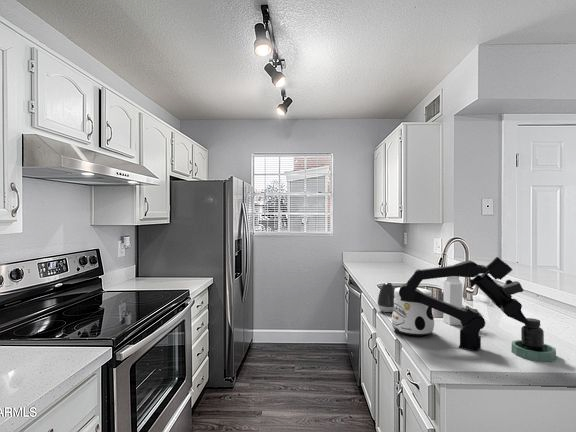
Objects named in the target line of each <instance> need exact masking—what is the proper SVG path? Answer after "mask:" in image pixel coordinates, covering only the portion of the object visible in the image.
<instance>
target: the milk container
mask: <svg viewBox="0 0 576 432" xmlns="http://www.w3.org/2000/svg"><path fill="white" fill-rule="evenodd" d="M400 287H401V286H400ZM400 287H399V286H398V287H396V288H395V287H394V289H395V290H394V311H393V312H392V314H391V324H392V328H393V329H394V330H395V331H397V332H398V333H401V334H404V335H408V336H421V337H422V336H427V335H430V334H431V333H433V331H434V329H435V320H434V315H433V308H431V307H429V306H426V305H424V304H421V303H415V302H410V301H406V300H403V299H402V298H401V297H400V295H399V290H400ZM417 289H419V290H420V291H421V292H423V293H424V294H427V295H429V296H432V297H433V292H432V290H429V289H427V288H421V287H417Z"/></svg>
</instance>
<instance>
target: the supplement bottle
mask: <svg viewBox="0 0 576 432" xmlns="http://www.w3.org/2000/svg"><path fill="white" fill-rule="evenodd" d="M526 319H527V320H528V322H529V324H528V325H526V324H524V325H523V326H522V327H521V329H520V330H521V332H520V335H521V336H520V337H521V338H520V340H521V345H522V348H524V349H527V350H532V351H538V352H544V344H545V331H544V330H543V328H542V327H541V320H540V319H537V318H530V317H526Z"/></svg>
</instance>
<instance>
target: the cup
mask: <svg viewBox="0 0 576 432" xmlns="http://www.w3.org/2000/svg"><path fill="white" fill-rule="evenodd" d="M511 353H513V354H514V355H515V356H518V357H520V358H523V359H526V360H531V361H536V362H546V363H548V362H549V363H551V362H556V361H557V348H555V347H553V346H552V345H551V344H547V343H544V352H538V351H532V350H527V349H524V348H522V345H521V339H517V340H512V341H511Z"/></svg>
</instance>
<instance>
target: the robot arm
mask: <svg viewBox="0 0 576 432" xmlns="http://www.w3.org/2000/svg"><path fill="white" fill-rule="evenodd" d="M512 271H513V268H511V266H510V265H509V264H508V263H507V262H504V260H502V259H501V258H500V257H499V256H496V257H494V258H493V260H492V261H490V263H488V264H487V265H484V264H477V263H476V262H475V261H473V260H464V261H462V262H458V263H456V264H452V265H449V266H440V267H431V268H423V269H420V268H419V269H415V271H414V273H413V274H412V276H411V277H410V278H409V279H408V280H407V281H406V282H405V283H403V284H401V285H400V290H399V295H400V297H401V298H402V299H403V300H406V301H410V302H415V303H421V304H424V305H426V306H429V307H431V308H432V310H433V309H434V310H437V311H439V312H441V313H445V314H448V315H450V316H453V317H455V318H457V319H459V320H460V321H461V322H460V324H461V325H460V326H461V328H460V330H459V345H458V348H459V349H464V350H469V351H474V352H478V351H480V349H481V347H482V336H481V335H480V332H481V330H482V329H484V327H486V320H485V318H484V316H483V315H482V313H480V312H479V310H478V309H476V308H472V307H470V306H469V305H465V308H463V307H462V308H459V307H456V306H454V305H451V304H449V303H446V302H444V300H441V299H438V298H436V297H434V296H433V295H432V296H429V295H427V294H424V293H423V292H421V291H420V290H419V289H417V288H419V285H420V284H421V283H422V281H424V280H431V279H440V278H441V279H442V278H447V277H450V276H458V277H459V278H460V277H461V278H469V279H468V280H469V283H468V285H469V287H470V288H473V287H474V286H477V287H478V289H479V290H480V291H482V292H483V293H484V294H485V296H487V297H488V298H489V300H491V302H492V303H493V305H495V306H496V307H497V308H498V309H500V311H501V312H502V313H503V314H504V315H505V316H506V317H509V318H511V319H512V320H515V321H518V322H520V323H522V324H524V325H525V324H526V325H528V324H529V322H528V320H527V319H526V318H527V317H526V316H525V315H524V313H523V312H522V308H523V304H522V303H521V302H520V301H518V300H517V299H516V298H512V297H513V295H515V294H518V293H523V292H524V288H523V286H522V284H521V283H520V282H519V281H518V280H514V281H512V280H511V279H507V280H505V284H504V285H502V286H501V285H500V284H498V283H497V282H496V281H495V280H502V279H503V278H505V277H506V276H507V275H508V274H510V273H511V272H512ZM490 276H491V277H490Z"/></svg>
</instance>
